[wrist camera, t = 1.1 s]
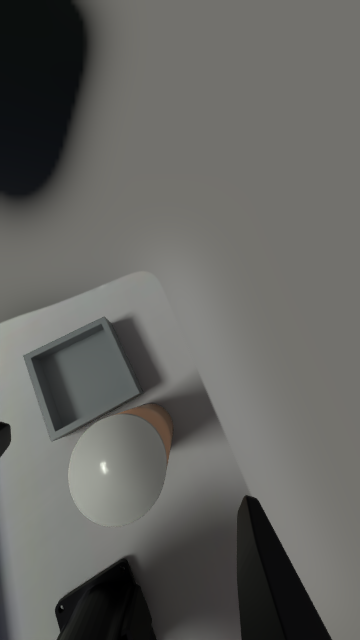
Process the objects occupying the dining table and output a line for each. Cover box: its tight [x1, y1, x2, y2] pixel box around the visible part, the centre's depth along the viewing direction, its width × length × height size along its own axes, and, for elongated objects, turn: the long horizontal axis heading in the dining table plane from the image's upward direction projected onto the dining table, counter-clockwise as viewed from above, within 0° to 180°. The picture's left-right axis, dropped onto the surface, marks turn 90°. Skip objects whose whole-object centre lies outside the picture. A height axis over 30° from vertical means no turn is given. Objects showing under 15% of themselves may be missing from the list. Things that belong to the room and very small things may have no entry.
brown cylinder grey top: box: [68, 404, 173, 527], centre depth 18 cm, size 5×5×12 cm
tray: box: [23, 317, 143, 442], centre depth 24 cm, size 9×9×2 cm
